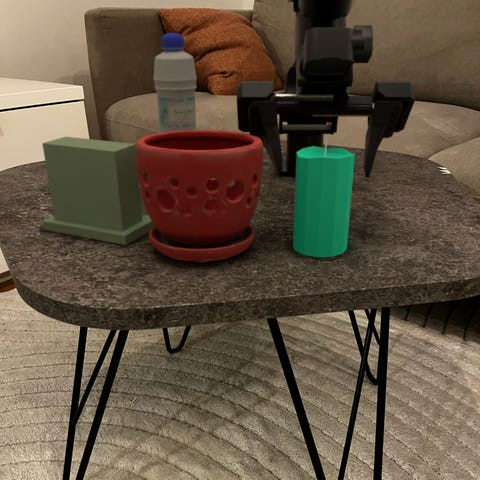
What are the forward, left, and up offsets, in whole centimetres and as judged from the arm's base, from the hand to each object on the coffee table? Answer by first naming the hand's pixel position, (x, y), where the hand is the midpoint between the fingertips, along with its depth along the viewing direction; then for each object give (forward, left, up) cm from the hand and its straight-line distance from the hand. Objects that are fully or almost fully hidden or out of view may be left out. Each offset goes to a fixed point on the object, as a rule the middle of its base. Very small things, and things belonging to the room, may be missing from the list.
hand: (324, 175), depth 62 cm
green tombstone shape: (-1, -26, -8) cm, 27 cm away
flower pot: (+6, -12, -8) cm, 15 cm away
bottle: (-25, -33, -8) cm, 42 cm away
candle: (0, 0, -8) cm, 8 cm away
